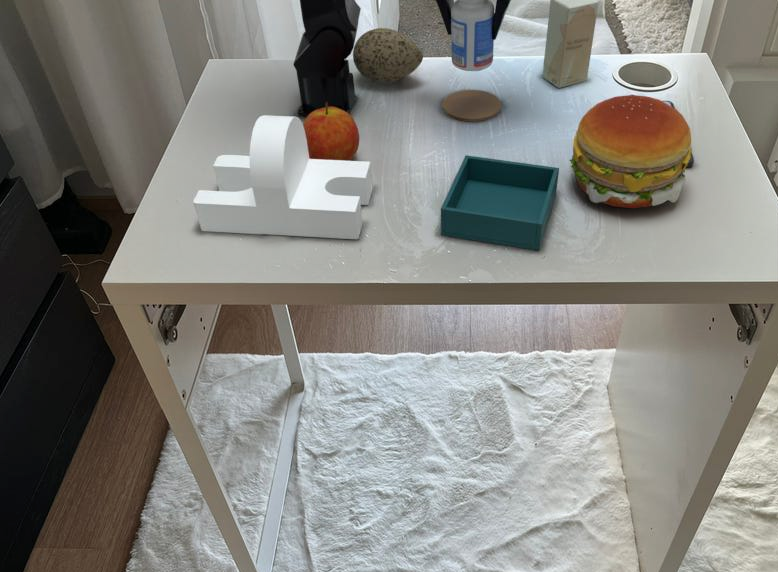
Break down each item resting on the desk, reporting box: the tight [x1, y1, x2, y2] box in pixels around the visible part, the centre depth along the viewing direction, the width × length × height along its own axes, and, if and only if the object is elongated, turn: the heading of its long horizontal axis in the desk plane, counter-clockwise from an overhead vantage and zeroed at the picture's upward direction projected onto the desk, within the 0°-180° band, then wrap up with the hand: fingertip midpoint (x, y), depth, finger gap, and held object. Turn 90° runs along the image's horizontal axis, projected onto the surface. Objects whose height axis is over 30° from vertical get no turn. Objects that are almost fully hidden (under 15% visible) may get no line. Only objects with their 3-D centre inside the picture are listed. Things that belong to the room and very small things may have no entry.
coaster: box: [441, 89, 502, 122], centre depth 104 cm, size 8×8×1 cm
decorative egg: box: [352, 27, 424, 84], centre depth 107 cm, size 7×7×10 cm
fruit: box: [302, 102, 360, 161], centre depth 92 cm, size 7×7×8 cm
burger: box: [569, 94, 692, 209], centre depth 87 cm, size 14×14×10 cm
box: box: [542, 0, 599, 89], centre depth 105 cm, size 5×4×11 cm
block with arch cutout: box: [192, 114, 374, 240], centre depth 85 cm, size 18×10×11 cm, turn 84°
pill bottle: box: [450, 0, 495, 72], centre depth 96 cm, size 6×5×10 cm
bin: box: [440, 154, 560, 251], centre depth 86 cm, size 11×11×4 cm
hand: (472, 36), depth 97 cm, fingers closed on pill bottle, 5 cm apart
